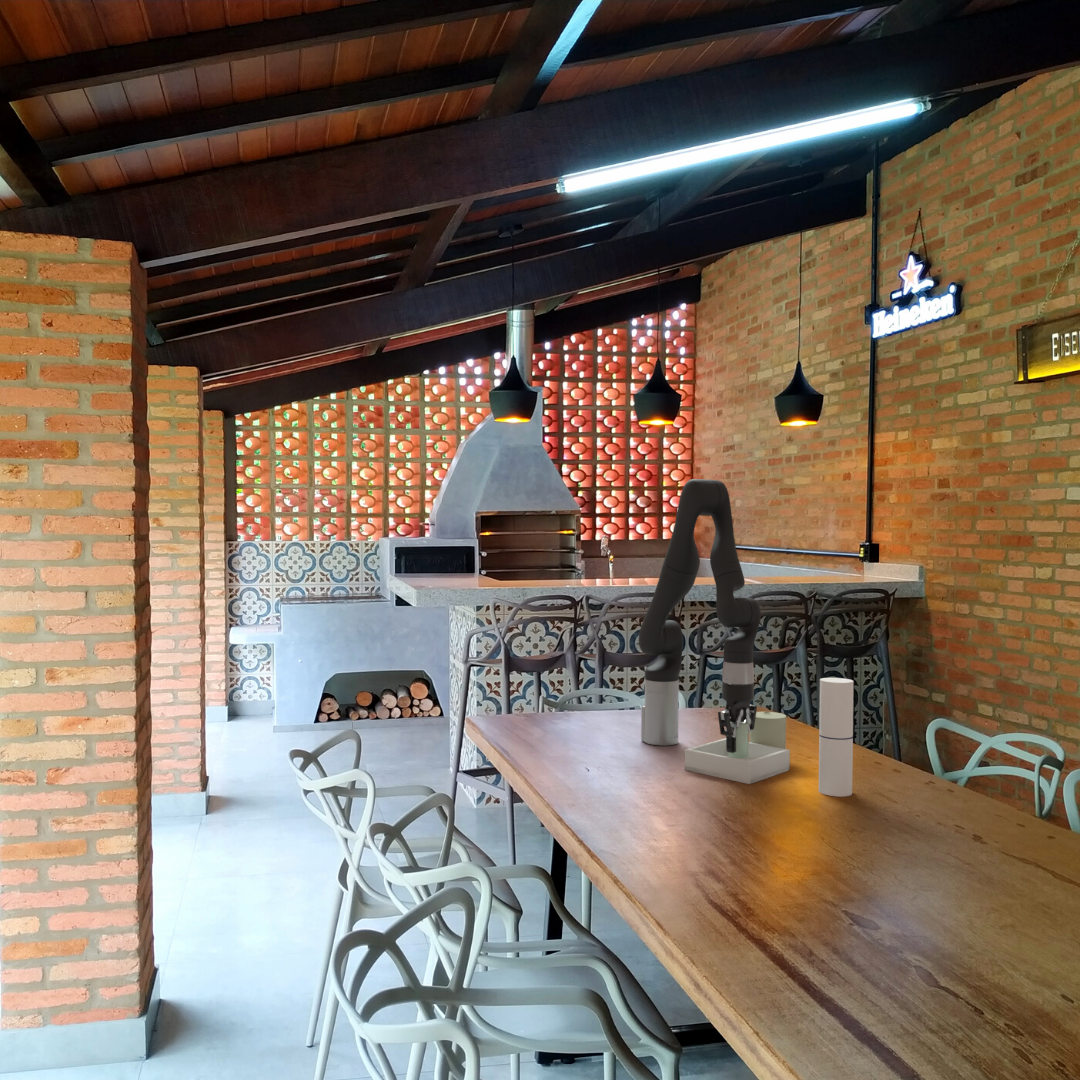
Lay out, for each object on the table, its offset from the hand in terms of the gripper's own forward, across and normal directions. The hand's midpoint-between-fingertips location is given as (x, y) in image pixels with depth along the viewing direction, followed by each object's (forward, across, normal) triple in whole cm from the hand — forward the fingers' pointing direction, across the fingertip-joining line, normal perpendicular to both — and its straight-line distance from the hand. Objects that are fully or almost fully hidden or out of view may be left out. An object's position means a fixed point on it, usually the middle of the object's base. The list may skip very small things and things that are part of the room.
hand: (737, 750), depth 234 cm
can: (+5, -14, 0) cm, 15 cm away
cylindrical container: (+5, +1, +26) cm, 27 cm away
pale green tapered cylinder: (+1, 0, 0) cm, 1 cm away
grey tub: (+5, 0, 0) cm, 5 cm away
